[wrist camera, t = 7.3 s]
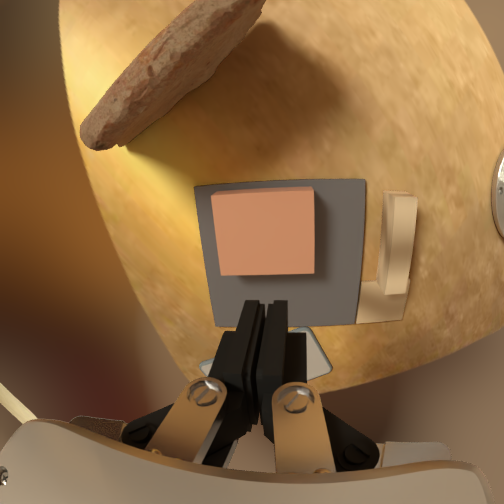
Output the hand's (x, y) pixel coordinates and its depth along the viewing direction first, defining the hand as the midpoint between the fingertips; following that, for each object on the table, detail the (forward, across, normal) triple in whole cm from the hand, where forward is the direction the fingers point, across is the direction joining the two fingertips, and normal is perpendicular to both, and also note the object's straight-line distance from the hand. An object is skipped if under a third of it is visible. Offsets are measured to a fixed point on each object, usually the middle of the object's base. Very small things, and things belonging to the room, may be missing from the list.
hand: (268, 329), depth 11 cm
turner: (+15, -10, +4) cm, 19 cm away
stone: (+15, +7, -14) cm, 22 cm away
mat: (+15, 0, +4) cm, 15 cm away
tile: (+13, -2, 0) cm, 13 cm away
